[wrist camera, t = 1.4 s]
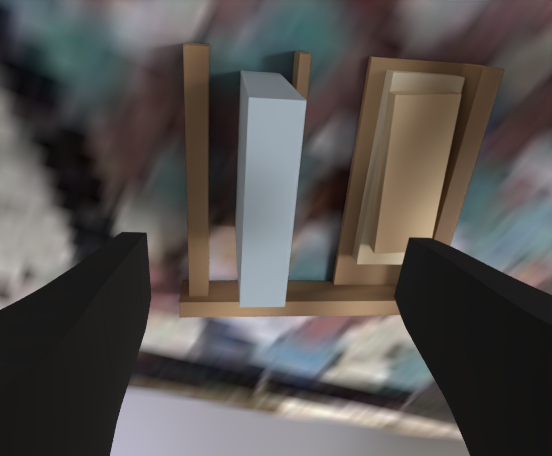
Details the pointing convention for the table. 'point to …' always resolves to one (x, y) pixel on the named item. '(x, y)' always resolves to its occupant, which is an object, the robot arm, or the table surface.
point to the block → (266, 185)
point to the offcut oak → (412, 166)
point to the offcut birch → (392, 83)
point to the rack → (347, 274)
